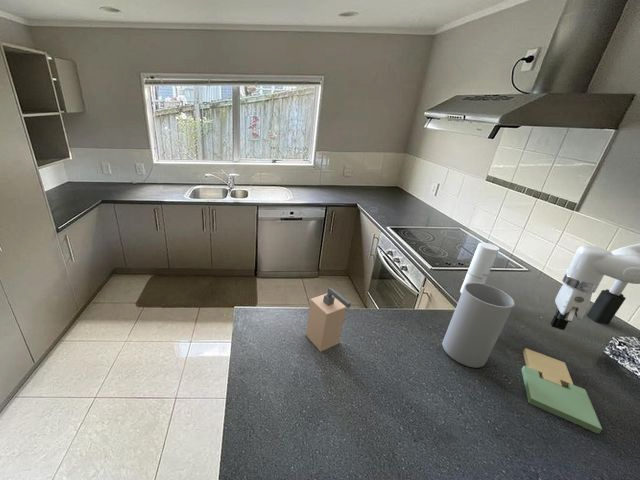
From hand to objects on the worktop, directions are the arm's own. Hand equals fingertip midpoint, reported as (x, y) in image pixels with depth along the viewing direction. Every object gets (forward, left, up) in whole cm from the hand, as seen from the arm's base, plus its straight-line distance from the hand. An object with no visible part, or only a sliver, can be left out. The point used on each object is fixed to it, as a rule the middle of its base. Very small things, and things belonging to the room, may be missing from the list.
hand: (557, 327), depth 98 cm
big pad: (+2, +26, -9) cm, 28 cm away
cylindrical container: (+23, -21, -9) cm, 32 cm away
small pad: (+2, +16, -9) cm, 18 cm away
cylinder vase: (+25, +23, -9) cm, 35 cm away
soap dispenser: (+65, +48, -9) cm, 81 cm away
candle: (-21, -34, -9) cm, 41 cm away
